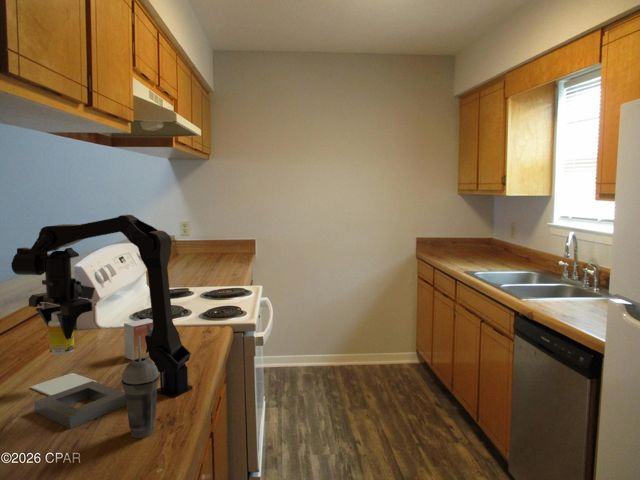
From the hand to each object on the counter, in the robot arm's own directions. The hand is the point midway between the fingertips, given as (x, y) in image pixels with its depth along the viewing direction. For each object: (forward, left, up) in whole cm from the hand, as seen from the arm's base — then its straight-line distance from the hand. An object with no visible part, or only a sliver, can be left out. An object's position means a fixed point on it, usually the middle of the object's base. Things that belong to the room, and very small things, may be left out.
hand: (61, 336), depth 122 cm
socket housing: (-16, +5, -13) cm, 21 cm away
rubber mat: (0, 0, -13) cm, 13 cm away
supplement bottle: (0, 0, -4) cm, 4 cm away
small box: (+2, -25, -13) cm, 28 cm away
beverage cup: (-37, +5, -13) cm, 39 cm away
